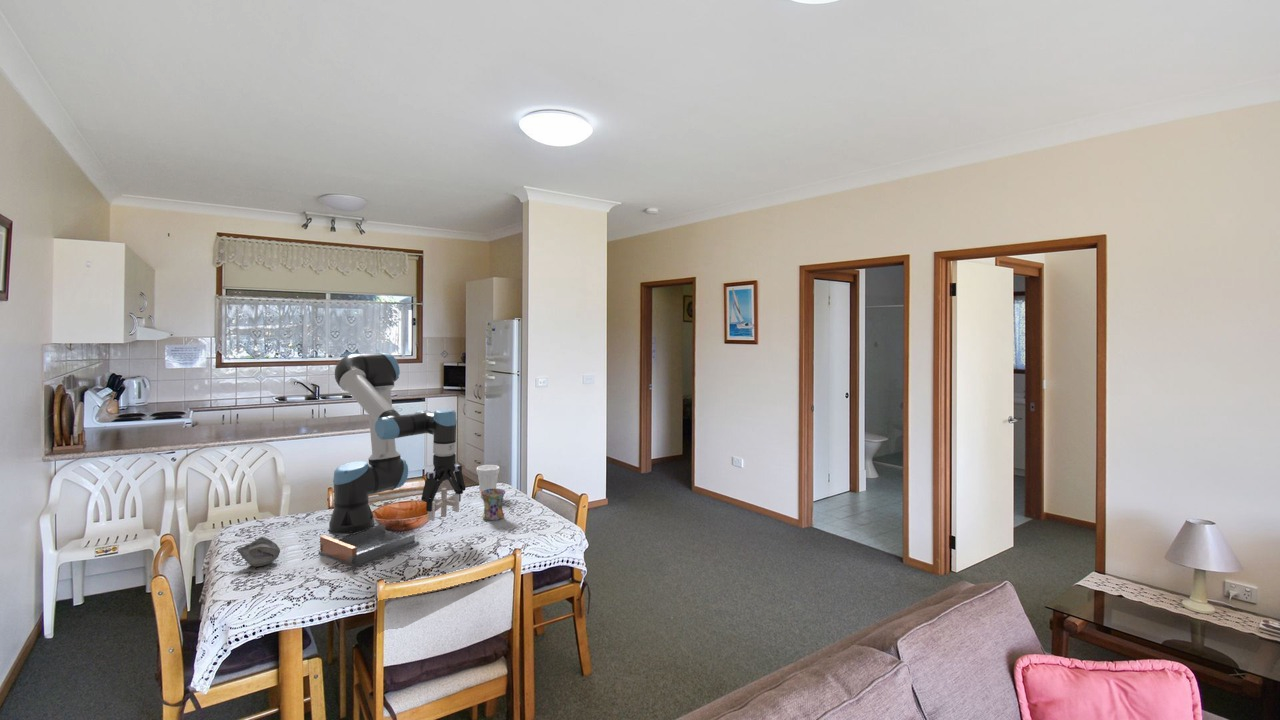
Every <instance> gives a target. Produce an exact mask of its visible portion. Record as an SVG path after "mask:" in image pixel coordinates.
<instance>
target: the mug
mask: <svg viewBox="0 0 1280 720" xmlns="http://www.w3.org/2000/svg"><path fill="white" fill-rule="evenodd" d="M481 494H482V497H481V498H482V499H483V505H484V509H483V512H482V516H481V518H482V519H483V520H486V521H498V520H500V519H502V518H505V517H504V516H505V514H504V511H503V499H504V496H505V494H506V490H505V489H503V488H497V487H496V488H494V489H486V490H483V491H482V492H481V493H480V495H481Z"/></svg>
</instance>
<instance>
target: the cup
mask: <svg viewBox="0 0 1280 720" xmlns="http://www.w3.org/2000/svg"><path fill="white" fill-rule="evenodd" d="M500 470H501V469H500V466H499V465H496V464H483V465H479V466H477V467H476V474H477V478H478V484H479V491H480V497H481V498H483V497H482V494H481V492H482V491H483V490H486V489H494V488H497V485H498V478H499V477H498V476H499V473H500Z"/></svg>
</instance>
